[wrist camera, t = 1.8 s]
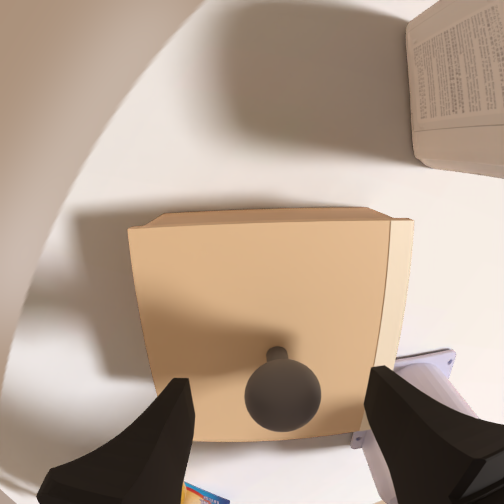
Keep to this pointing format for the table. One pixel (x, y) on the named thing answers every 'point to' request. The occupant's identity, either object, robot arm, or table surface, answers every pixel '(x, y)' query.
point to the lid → (272, 319)
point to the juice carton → (199, 496)
